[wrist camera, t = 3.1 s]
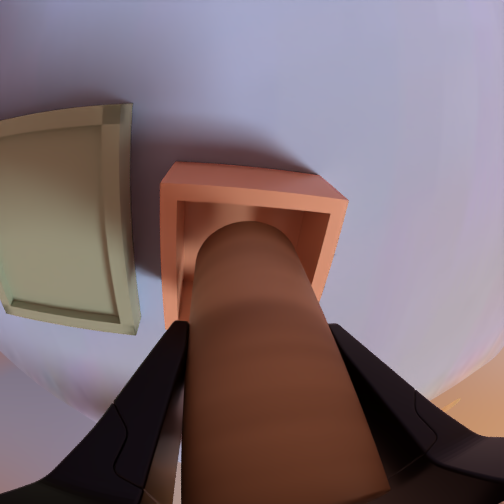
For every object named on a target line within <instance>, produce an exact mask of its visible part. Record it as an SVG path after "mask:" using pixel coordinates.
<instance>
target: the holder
mask: <svg viewBox="0 0 504 504" xmlns="http://www.w3.org/2000/svg"><path fill="white" fill-rule="evenodd" d="M348 201H349V200H348V199H347V198H345V197H344V196H343V195H342V194H341V193H340V192H339V191H337V190H336V189H335V188H334V187H333V186H332V185H330V184H329V183H328V182H327V181H326V180H325V179H323V178H322V177H321V176H320V175H314V174H307V173H300V172H292V171H285V170H276V169H268V168H259V167H249V166H238V165H227V164H214V163H199V162H181V161H175V163H174V164H173V165H172V167H171V168H170V170H169V171H168V172H167V174H166V175H165V177H164V178H163V180H162V181H161V182H160V250H161V275H162V292H163V306H164V319H165V329H166V330H168V328H169V327H170V326H171V324H172V323H173V322H174V321H175V320H180V321H188V322H189V318H190V308H191V298H192V289H193V280H194V271H195V263H196V257H197V254H198V251H199V249H200V247H201V246H202V244H203V242H204V241H205V240H206V239H207V238H208V237H209V236H210V235H211V234H212V233H214V232H215V231H216V230H218V229H220V228H222V227H224V226H226V225H229V224H231V223H236V222H241V221H256V222H262V223H266V224H269V225H271V226H273V227H275V228H277V229H279V230H280V231H281V232H283V233H284V234H285V235H286V236H287V237H288V238H289V240H290V241H291V243H292V244H293V246H294V249H295V251H296V253H297V255H298V257H299V259H300V262H301V264H302V266H303V268H304V270H305V273H306V275H307V277H308V279H309V282H310V284H311V286H312V288H313V291H314V293H315V295H316V298H317V300H318V302H319V301H320V298H321V295H322V292H323V289H324V286H325V283H326V279H327V276H328V273H329V270H330V266H331V263H332V260H333V256H334V253H335V249H336V246H337V243H338V239H339V235H340V232H341V228H342V224H343V221H344V217H345V213H346V209H347V205H348Z"/></svg>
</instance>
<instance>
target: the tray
mask: <svg viewBox="0 0 504 504" xmlns="http://www.w3.org/2000/svg"><path fill="white" fill-rule="evenodd" d="M132 106H133V103H129V104H109V105H96V106H85V107H75V108H67V109H59V110H52V111H46V112H40V113H34V114H29V115H24V116H19V117H14V118H9V119H5V120H1V121H0V300H1V302H2V304H3V307H4V309H5V311H6V313H7V314H11V315H15V316H19V317H24V318H29V319H33V320H38V321H43V322H48V323H54V324H59V325H65V326H70V327H77V328H83V329H89V330H96V331H103V332H111V333H119V334H127V335H136V334H137V330H138V327H139V323H140V319H141V312H140V305H139V298H138V290H137V282H136V273H135V263H134V251H133V238H132V222H131V197H130V146H131V122H132Z"/></svg>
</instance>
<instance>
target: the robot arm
mask: <svg viewBox="0 0 504 504" xmlns="http://www.w3.org/2000/svg"><path fill="white" fill-rule="evenodd" d="M328 325H329V328H330V330H331V333H332V335H333V337H334V340H335V342H336V344H337V347H338V349H339V352H340V354H341V357H342V359H343V362H344V364H345V366H346V369H347V371H348V374H349V376H350V379H351V382H352V384H353V387H354V389H355V392H356V394H357V397H358V399H359V402H360V405H361V407H362V410H363V412H364V415H365V418H366V420H367V423H368V426H369V429H370V431H371V434H372V437H373V439H374V442H375V445H376V448H377V451H378V453H379V456H380V459H381V462H382V465H383V468H384V471H385V474H386V477H387V480H388V482H389V486H390V489H391V490H390V491H389V492H388V493H386V494H385V495H383V496H381V497H379V498H377V499H375V500H373V501H371V502H368V503H366V504H504V437H485V436H481V435H478V434H476V433H474V432H472V431H471V430H469V429H468V428H466V427H465V426H463V425H462V424H460V423H459V422H457V421H456V420H455V419H453V418H452V417H450V416H449V415H447V414H446V413H445V412H443V411H442V410H440V409H439V408H438V407H436V406H435V405H434V404H432V403H431V402H430V401H429V400H428V399H426V398H425V397H424V396H423V395H421V394H420V393H419V392H418V391H417V390H415V389H414V388H413V387H412V386H411V385H410V384H408V383H407V382H406V381H405V380H404V379H402V378H401V377H400V376H399V375H398V374H397V373H395V372H394V371H393V370H392V369H391V368H389V367H388V366H387V365H386V364H385V363H384V362H382V361H381V360H380V359H379V358H378V357H376V356H375V355H374V354H373V353H372V352H371V351H369V350H368V349H367V348H366V347H365V346H363V345H362V344H361V343H360V342H359V341H358V340H356V339H355V338H354V337H353V336H352V335H350V334H349V333H348V332H347V331H346V330H344V329H343V328H342V327H341V326H340V325H338V324H336V323H332V324H328ZM188 332H189V322H188V321H180V320H175V321H174V322H173V323H172V324H171V326H170V327H169V328H168V330H167V331H166V332H165V333H164V335H163V336H162V337H161V339H160V340H159V341H158V343H157V344H156V345H155V347H154V348H153V349H152V351H151V352H150V353H149V355H148V356H147V357H146V359H145V360H144V361H143V363H142V364H141V365H140V367H139V368H138V369H137V371H136V372H135V373H134V375H133V376H132V377H131V379H130V380H129V381H128V383H127V384H126V385H125V387H124V388H123V389H122V391H121V392H120V393H119V395H118V396H117V397H116V399H115V400H114V404H115V405H114V404H111V405H110V407H109V408H108V409H107V411H106V412H105V414H104V415H103V416H102V417H101V419H100V420H99V421H98V423H97V424H96V425H95V426H94V428H93V429H92V430H91V431H90V432H89V433H88V434H87V435H86V436H85V437H84V439H83V440H82V441H81V442H80V443H79V444H78V445H77V446H76V447H75V448H74V449H73V450H72V451H71V452H70V453H69V454H68V455H67V457H65V458H64V459H63V461H61V463H60V464H59V465H58V466H57V467H56V468H55V469H54V470H53V471H52V472H50V473H49V474H48V475H47V476H45V477H44V478H42V479H40V480H38V481H36V482H34V483H31V484H28V485H25V486H23V487H20V488H17V489H14V490H11V491H7V492H4V493H1V494H0V504H172V503H173V494H174V485H175V478H176V469H177V462H178V455H179V447H180V440H181V433H182V419H183V398H184V380H185V366H186V356H187V343H188Z"/></svg>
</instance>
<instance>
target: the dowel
mask: <svg viewBox="0 0 504 504" xmlns="http://www.w3.org/2000/svg"><path fill="white" fill-rule="evenodd" d="M390 490H391V489H390V486H389V482H388V480H387V477H386V474H385V471H384V468H383V465H382V462H381V459H380V456H379V453H378V451H377V448H376V445H375V442H374V439H373V437H372V434H371V431H370V429H369V426H368V423H367V420H366V418H365V415H364V412H363V410H362V407H361V405H360V402H359V399H358V397H357V394H356V392H355V389H354V387H353V384H352V382H351V379H350V376H349V374H348V371H347V369H346V366H345V364H344V362H343V359H342V357H341V354H340V352H339V349H338V347H337V344H336V342H335V340H334V337H333V335H332V333H331V330H330V328H329V325H328V323H327V321H326V318H325V316H324V314H323V311H322V309H321V307H320V304H319V302H318V300H317V298H316V295H315V293H314V291H313V288H312V286H311V284H310V282H309V279H308V277H307V275H306V273H305V270H304V268H303V266H302V264H301V262H300V259H299V257H298V255H297V253H296V251H295V249H294V246H293V244H292V243H291V241H290V240H289V238H288V237H287V236H286V235H285V234H284V233H283V232H281V231H280V230H279V229H277V228H275V227H273V226H271V225H269V224H266V223H262V222H256V221H241V222H236V223H231V224H229V225H226V226H224V227H222V228H220V229H218V230H216V231H215V232H214V233H212V234H211V235H210V236H209V237H208V238H207V239H206V240H205V241H204V242H203V244H202V246H201V247H200V249H199V251H198V254H197V257H196V263H195V271H194V280H193V289H192V298H191V308H190V318H189V332H188V343H187V356H186V366H185V380H184V398H183V419H182V451H181V504H366V503H368V502H371V501H373V500H375V499H377V498H379V497H381V496H383V495H385V494H386V493H388V492H389V491H390Z"/></svg>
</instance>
